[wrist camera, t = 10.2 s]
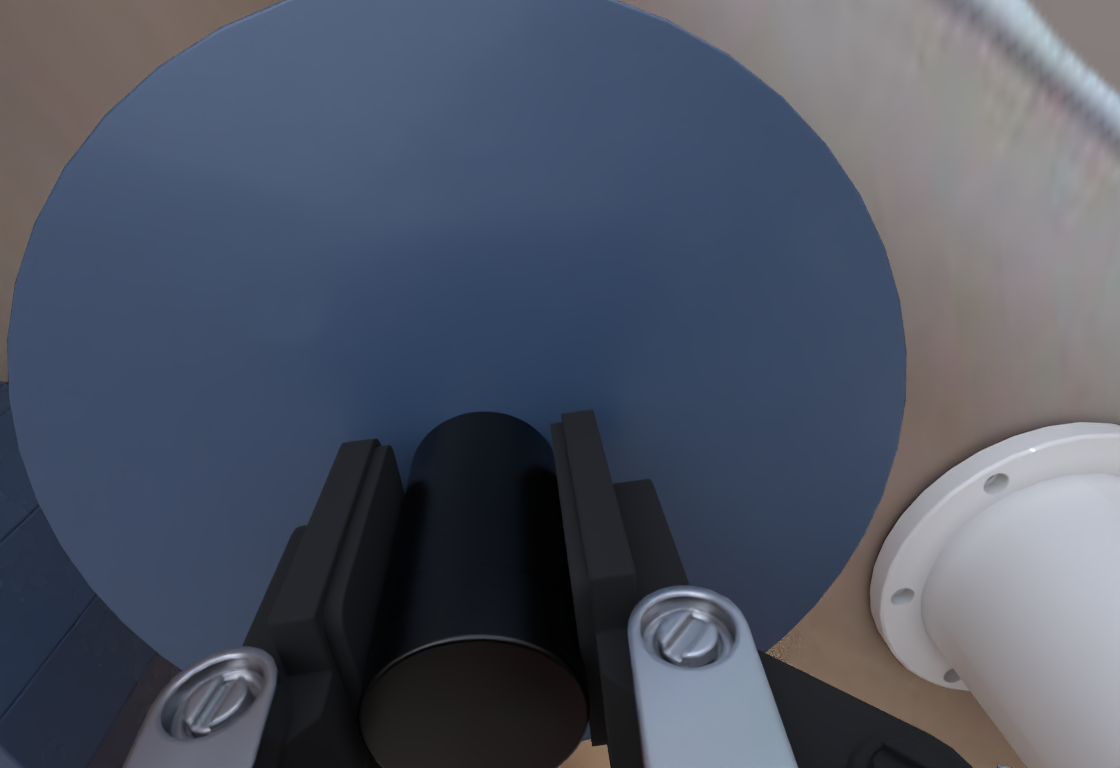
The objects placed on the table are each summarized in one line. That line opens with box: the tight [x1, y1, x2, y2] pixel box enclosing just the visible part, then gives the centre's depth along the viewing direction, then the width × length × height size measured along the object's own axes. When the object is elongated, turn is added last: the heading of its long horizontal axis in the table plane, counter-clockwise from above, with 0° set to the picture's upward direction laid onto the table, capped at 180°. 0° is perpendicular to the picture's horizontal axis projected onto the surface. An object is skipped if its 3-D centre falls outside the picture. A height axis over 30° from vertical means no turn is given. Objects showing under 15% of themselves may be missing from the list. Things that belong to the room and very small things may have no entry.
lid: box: [7, 0, 907, 768], centre depth 10 cm, size 15×15×6 cm
